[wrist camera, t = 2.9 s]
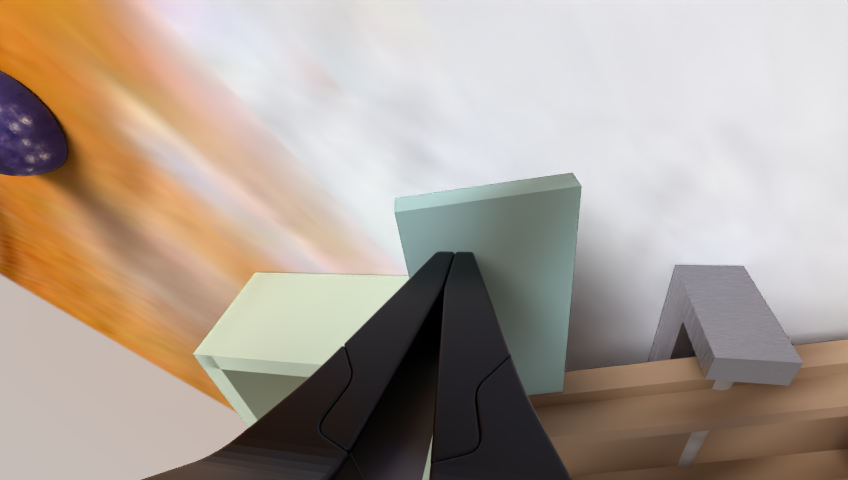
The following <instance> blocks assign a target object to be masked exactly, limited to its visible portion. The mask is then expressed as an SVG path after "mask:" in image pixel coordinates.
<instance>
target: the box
mask: <svg viewBox="0 0 848 480" xmlns="http://www.w3.org/2000/svg"><path fill="white" fill-rule="evenodd" d="M408 280H409V276H386V275H344V274H303V273H262V272H255V274H254V275H253V276H252V278H251V279H250V280H249V281H248V283H247V284H246V285H245V287H244V288H243V289H242V291H241V292H240V293H239V295H238V296H237V297H236V298H235V300H234V301H233V302H232V304H231V305H230V306H229V308H228V309H227V310H226V311H225V313H224V314H223V315H222V317H221V318H220V319H219V321H218V322H217V323H216V325H215V326H214V327H213V328H212V330H211V331H210V332H209V334H208V335H207V336H206V338H205V339H204V340H203V342H202V343H201V344H200V345H199V347H198V348H197V349H196V351H195V352H194V353H193V355H194V356H195V358H196V359H197V360H198V362H199V363H200V364H201V366H202V367H203V368H204V370H205V371H206V372H207V374H208V375H209V376H210V378H211V379H212V380H213V381H214V383H215V384H216V385H217V387H218V388H219V389H220V391H221V392H222V393H223V395H224V396H225V397H226V399H227V400H228V401H229V403H230V404H231V405H232V407H233V408H234V409H235V411H236V412H237V413H238V415H239V416H240V417H241V419H242V420H243V421H244V423H245V424H246V425H247V426H248V428H249V427H250V426H251V425H253V424H254V423H255V422H256V421H258V420H259V419H260V418H261V417H262V416H264V415H265V414H266V413H267V412H268V411H270V410H271V409H272V408H273V407H274V406H276V405H277V404H278V403H279V402H281V401H282V400H283V399H284V398H285V397H287V396H288V395H289V394H290V393H291V392H293V391H294V390H295V389H296V388H297V387H298V386H300V385H301V384H302V383H303V382H304V381H305V380H306V379H308V378H309V377H310V376H311V375H312V374H313V373H314V372H315V371H316V370H318V369H319V368H320V367H321V366H322V365H323V364H324V363H325V362H326V361H327V360H328V359H329V358H330V357H331V356H332V355H333V354H334V353H335V352H336V351H337V350H338V349H339V348H340V347H341V346H344V344H345V342H346V341H347V340H348V339H350V338H351V337H352V336H353V335H354V334H355V333H356V332H357V331H358V330H359V329H360V328H361V327H362V326H363V325H364V324H365V323H366V322H367V321H368V320H369V319H370V318H371V317H372V316H373V315H374V314H375V313H376V312H377V311H378V310H379V309H380V308H381V307H382V306H383V305H384V304H385V303H386V302H387V301H388V300H389V299H390V298H391V297H392V296H393V295H394V294H395V293H396V292H397V291H398V290H399V289H400V288H401V287H402V286H403V285H404V284H405V283H406V282H407V281H408ZM344 347H345V346H344ZM432 436H433V435H432ZM431 449H432V439H431V444H430V448H429V452H428V457H427V461H426V465H425V470H424V474H423V478H422V480H429V475H430V466H431Z"/></svg>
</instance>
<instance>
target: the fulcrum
mask: <svg viewBox="0 0 848 480" xmlns="http://www.w3.org/2000/svg"><path fill="white" fill-rule="evenodd" d="M689 357H697V359H698V362H699V365H700V367H701V370H702V372H703V375H704V378H705V379H706V380H719V381H733V382H746V383H760V384H773V385H787V386H789V385H790V383H791V382H792V380H793V378H794V377H795V375H796V374H797V372H798V371H799V369H800V368H801V366H802V364H803V361H802V360H801V358H800V356H799V355H798V353H797V352H796V350H795V348H794V347H793V345H792V343H791V342H790V340H789V339H788V337H787V335H786V334H785V332H784V331H783V329H782V327H781V326H780V324H779V323H778V321H777V319H776V318H775V316H774V314H773V313H772V311H771V310H770V308H769V306H768V305H767V303H766V302H765V300H764V298H763V297H762V295H761V293H760V292H759V290H758V289H757V287H756V285H755V284H754V282H753V281H752V279H751V277H750V276H749V274H748V272H747V271H746V269H745V268H744V266H701V265H675V269H674V272H673V276H672V279H671V283H670V287H669V290H668V294H667V297H666V301H665V304H664V308H663V311H662V315H661V318H660V322H659V325H658V329H657V332H656V336H655V340H654V343H653V347H652V350H651V354H650V357H649V361H648V362H655V361H663V360H672V359H681V358H689Z"/></svg>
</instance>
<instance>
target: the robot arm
mask: <svg viewBox="0 0 848 480" xmlns="http://www.w3.org/2000/svg"><path fill="white" fill-rule="evenodd" d="M344 346H345V347H344ZM344 346H341V347H340V348H339V349H338V350H337V351H336V352H335V353H334V354H333V355H332V356H331V357H330V358H329V359H328V360H327V361H326V362H325V363H324V364H323V365H322V366H321V367H320V368H319V369H318V370H316V371H315V372H314V373H313V374H312V375H311V376H310V377H309V378H308V379H306V380H305V381H304V382H303V383H302V384H301V385H300V386H298V387H297V388H296V389H295V390H294V391H293V392H291V393H290V394H289V395H288V396H287V397H285V398H284V399H283V400H282V401H281V402H279V403H278V404H277V405H276V406H274V407H273V408H272V409H271V410H270V411H268V412H267V413H266V414H265V415H264V416H262V417H261V418H260V419H259V420H258V421H256V422H255V423H254V424H253V425H251V426H250V427H249V428H248V429H247V430H245V431H244V432H243V433H242V434H241V435H239V436H238V437H237V438H236V439H234V440H233V441H232V442H230V443H229V444H227V445H226V446H225V447H223V448H222V449H220V450H219V451H217V452H215V453H213V454H211V455H209V456H207V457H205V458H203V459H201V460H198V461H196V462H193V463H190V464H187V465H184V466H181V467H178V468H175V469H172V470H169V471H166V472H163V473H160V474H157V475H154V476H151V477H148V478H145V479H142V480H422V478H423V474H424V470H425V465H426V461H427V457H428V452H429V448H430V444H431V439H432V449H431V466H430V475H429V480H572V478H571V476H570V474H569V473H568V471H567V469H566V467H565V465H564V463H563V462H562V460H561V458H560V456H559V454H558V452H557V451H556V449H555V447H554V445H553V443H552V441H551V440H550V438H549V436H548V434H547V432H546V431H545V429H544V427H543V425H542V423H541V421H540V419H539V417H538V415H537V413H536V411H535V409H534V407H533V405H532V403H531V401H530V399H529V397H528V395H527V393H526V391H525V388H524V386H523V383H522V381H521V379H520V376H519V374H518V371H517V368H516V366H515V363H514V360H513V359H512V355H511V353H510V350H509V347H508V344H507V342H506V339H505V336H504V334H503V331H502V328H501V326H500V323H499V320H498V317H497V315H496V312H495V309H494V307H493V304H492V301H491V298H490V296H489V293H488V290H487V288H486V285H485V282H484V280H483V277H482V274H481V271H480V269H479V266H478V263H477V261H476V258H475V255H474V253H473V252H456V253H454V252H452V251H439V252H436V253H435V254H434V255H433V256H432V257H431V258H430V259H429V260H428V261H427V262H426V263H425V264H424V265H423V266H422V267H421V268H420V269H419V270H418V271H417V272H416V273H415V274H414V275H413V276H412V277H411V278H410V279H409V280H408V281H407V282H406V283H405V284H404V285H403V286H402V287H401V288H400V289H399V290H398V291H397V292H396V293H395V294H394V295H393V296H392V297H391V298H390V299H389V300H388V301H387V302H386V303H385V304H384V305H383V306H382V307H381V308H380V309H379V310H378V311H377V312H376V313H375V314H374V315H373V316H372V317H371V318H370V319H369V320H368V321H367V322H366V323H365V324H364V325H363V326H362V327H361V328H360V329H359V330H358V331H357V332H356V333H355V334H354V335H353V336H352V337H351V338H350V339H348V340H347V341H346V342H345V344H344ZM432 435H433V436H432Z"/></svg>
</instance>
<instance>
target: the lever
mask: <svg viewBox="0 0 848 480" xmlns="http://www.w3.org/2000/svg"><path fill="white" fill-rule="evenodd" d="M580 197H581V184H580V183H579V181H578V180H577V179H576V177H575V176H574V174H573V173H566V174H560V175H553V176H546V177H539V178H532V179H525V180H518V181H511V182H504V183H497V184H490V185H483V186H476V187H469V188H463V189H456V190H449V191H442V192H435V193H428V194H421V195H414V196H407V197H400V198H395V217H396V221H397V226H398V230H399V234H400V239H401V243H402V248H403V252H404V257H405V261H406V265H407V270H408V274H409V279H410V278H411V277H412V276H413V275H414V274H415V273H416V272H417V271H418V270H419V269H420V268H421V267H422V266H423V265H424V264H425V263H426V262H427V261H428V260H429V259H430V258H431V257H432V256H433V255H434V254H435V253H436V252H439V251H452V252H454V253H456V252H473V253H474V255H475V258H476V261H477V263H478V266H479V269H480V271H481V274H482V277H483V280H484V282H485V285H486V288H487V290H488V293H489V296H490V298H491V301H492V304H493V307H494V309H495V312H496V315H497V317H498V320H499V323H500V326H501V328H502V331H503V334H504V336H505V339H506V342H507V344H508V347H509V350H510V353H511V355H512V359H513V360H514V363H515V366H516V368H517V371H518V374H519V376H520V379H521V381H522V383H523V386H524V388H525V391H526V393H527V395H528V397H529V399H530V401H531V403H532V405H533V407H534V409H535V411H536V413H537V415H538V417H539V419H540V421H541V423H542V425H543V427H544V429H545V431H546V432H547V434H548V436H549V438H550V440H551V441H552V443H553V445H554V447H555V449H556V451H557V452H558V454H559V456H560V458H561V460H562V462H563V463H564V465H565V467H566V469H567V471H568V473H569V474H570V476H571V478H572V480H848V339H846V340H837V341H829V342H820V343H811V344H803V345H794V346H793V347H794V348H795V350H796V352H797V353H798V355H799V356H800V358H801V360H802V361H803V364H802V366H801V368H800V369H799V371H798V372H797V374H796V375H795V377H794V378H793V380H792V382H791V383H790V385H789V386H787V385H773V384H760V383H746V382H733V381H719V380H706V379H705V378H704V375H703V372H702V370H701V367H700V365H699V362H698V359H697V357H689V358H681V359H672V360H663V361H655V362H646V363H637V364H629V365H620V366H611V367H602V368H594V369H585V370H576V371H568V372H565V361H566V350H567V339H568V328H569V317H570V306H571V295H572V284H573V273H574V262H575V251H576V240H577V230H578V219H579V208H580Z"/></svg>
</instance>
